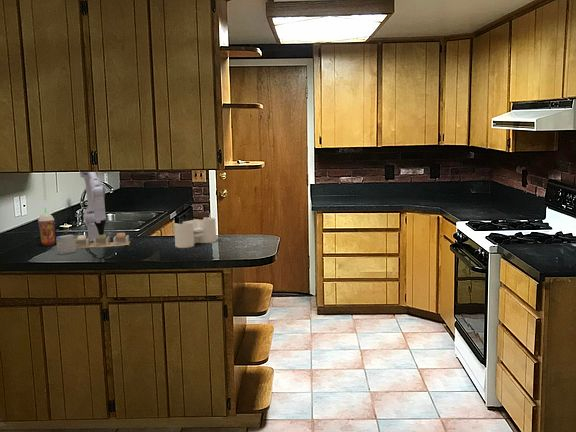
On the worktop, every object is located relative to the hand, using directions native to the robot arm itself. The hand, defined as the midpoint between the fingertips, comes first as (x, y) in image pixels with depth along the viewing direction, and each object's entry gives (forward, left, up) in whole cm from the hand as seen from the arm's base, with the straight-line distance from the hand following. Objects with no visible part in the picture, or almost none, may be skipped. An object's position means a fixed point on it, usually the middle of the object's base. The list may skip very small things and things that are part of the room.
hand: (101, 234), depth 325 cm
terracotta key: (0, +10, -4) cm, 11 cm away
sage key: (0, 0, -4) cm, 4 cm away
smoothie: (-14, -30, -6) cm, 34 cm away
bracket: (+13, +49, -6) cm, 52 cm away
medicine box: (+16, -15, -6) cm, 23 cm away
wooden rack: (0, 0, -6) cm, 6 cm away
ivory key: (0, -10, -4) cm, 11 cm away
